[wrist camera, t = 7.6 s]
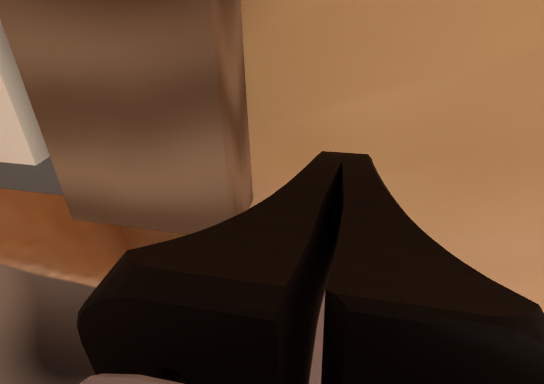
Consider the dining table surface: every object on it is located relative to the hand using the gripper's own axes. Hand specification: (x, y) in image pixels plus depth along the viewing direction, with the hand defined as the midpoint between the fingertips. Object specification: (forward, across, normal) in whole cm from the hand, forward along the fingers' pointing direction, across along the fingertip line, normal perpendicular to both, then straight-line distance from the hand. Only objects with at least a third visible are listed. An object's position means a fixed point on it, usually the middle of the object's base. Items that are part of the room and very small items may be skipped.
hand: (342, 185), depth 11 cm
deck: (+10, +11, +1) cm, 15 cm away
